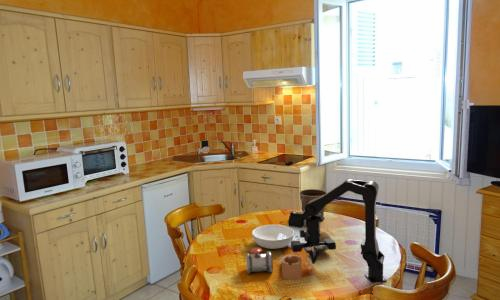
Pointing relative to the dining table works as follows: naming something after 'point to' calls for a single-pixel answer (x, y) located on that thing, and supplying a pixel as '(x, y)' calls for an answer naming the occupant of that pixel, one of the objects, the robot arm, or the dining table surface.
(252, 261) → the valve stub
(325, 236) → the natural sponge
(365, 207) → the robot arm
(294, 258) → the brown hollow cylinder
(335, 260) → the dining table surface
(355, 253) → the dining table surface
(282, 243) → the serving bowl
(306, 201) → the plant pot
